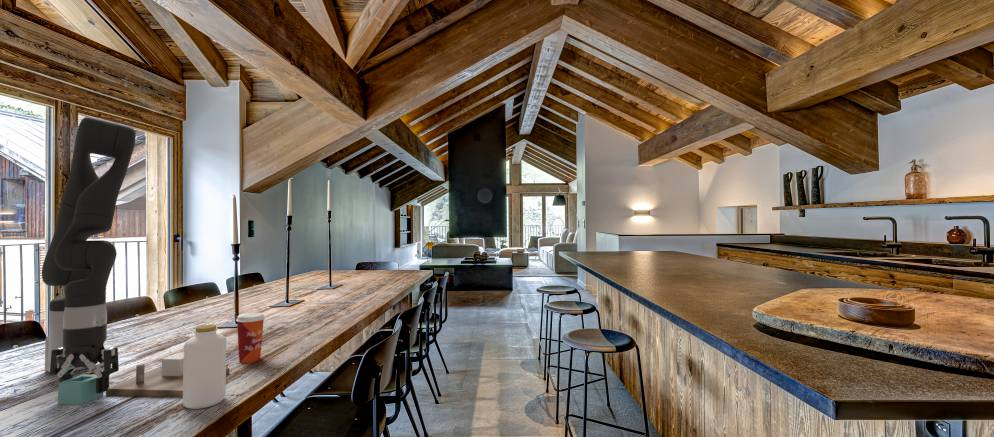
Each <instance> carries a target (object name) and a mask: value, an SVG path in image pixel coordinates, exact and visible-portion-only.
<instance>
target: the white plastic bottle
mask: <svg viewBox="0 0 994 437" xmlns="http://www.w3.org/2000/svg"><path fill="white" fill-rule="evenodd" d="M217 331H218V328H217V325H216V324H203V325H197V326H195V330H194V334H195V335H194V336H192V337H190V338H188V339H187V340H186V341H185V342H184V343H183V344H184V345H183V353H184V363H183V397H182V405H183V406H184V407H185V408H186V409H192V410H197V409H199V410H200V409H205V408H206V409H207V408H209V407H213V406H216V405H217V404H219V403H221V402H222V401H223V400H224V399H225V398H226V391H227V390H226V388H227V384H226V382H227V375H226V368H227V337H226V336H225V335H223V334H221V333H217Z"/></svg>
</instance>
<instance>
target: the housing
mask: <svg viewBox="0 0 994 437" xmlns="http://www.w3.org/2000/svg"><path fill="white" fill-rule="evenodd" d="M183 363H184V352H176V353H174V354H172V355H169V356H166V357H163V358H162V359H161V366H162V376H182V375H183Z"/></svg>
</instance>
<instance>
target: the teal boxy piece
mask: <svg viewBox="0 0 994 437" xmlns="http://www.w3.org/2000/svg"><path fill="white" fill-rule="evenodd" d="M96 378H98V377H97V376H96V374H85V373H84V374H79V375H77V376H75V377H74V376H73V378H71V379H68V380H65V381H62V382H60V383H59V382H58V387H57V388H58V390H57V393H58V395H57V399H58V400H57V405H65V406H66V405H67V406H82V405H85V404H86V403H89V402H91V401H94V400H95V399H98V398H100V397H102V396H104V392H102V393H96Z"/></svg>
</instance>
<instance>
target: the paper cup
mask: <svg viewBox="0 0 994 437" xmlns="http://www.w3.org/2000/svg"><path fill="white" fill-rule="evenodd" d="M265 318H266V317H265V316H264V313H263V312H247V313H246V312H245V313H242V314H239V315H237V317H236V320H235V322H236V323H237V325H236V326H237V345H238V362H239V363H240V364H252V363H256V362H258V361H260V360H261V355H262V346H263V344H262V343H263V334H264V332H263V330H264V320H265Z"/></svg>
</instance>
